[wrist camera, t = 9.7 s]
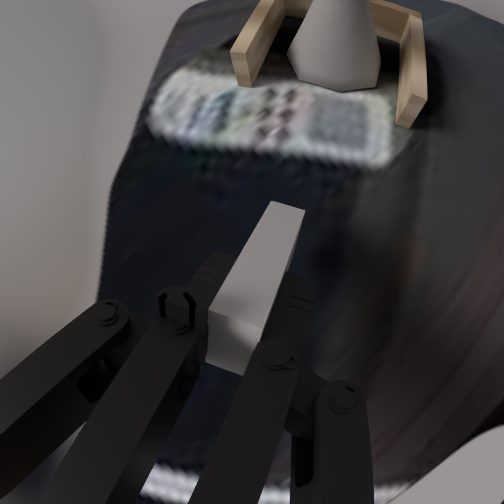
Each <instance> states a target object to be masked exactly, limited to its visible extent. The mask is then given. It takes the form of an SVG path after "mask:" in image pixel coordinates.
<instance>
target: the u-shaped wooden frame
mask: <svg viewBox="0 0 504 504" xmlns="http://www.w3.org/2000/svg"><path fill="white" fill-rule="evenodd" d="M312 2H313V0H261V1H260V2H259V4H258V5H257V7H256V8H255V10H254V12H253V13H252V15H251V16H250V18H249V20H248V21H247V23H246V25H245V26H244V28H243V30H242V31H241V33H240V35H239V36H238V38H237V40H236V42H235V43H234V45H233V47H232V49H231V50H230V55H231V58H232V62H233V66H234V70H235V74H236V78H237V82H238V86H245V87H252V86H253V84H254V82H255V80H256V77H257V75H258V73H259V71H260V68H261V66H262V64H263V62H264V60H265V57H266V55H267V53H268V51H269V49H270V47H271V44H272V42H273V40H274V38H275V36H276V34H277V32H278V30H279V28H280V26H281V24H282V22H283V19H284V17H285V16H292V17H299V18H305V16H306V14H307V12H308V10H309V8H310V6H311V4H312ZM369 5H370V9H371V14H372V19H373V24H374V29H375V34H376V35H377V36H380V37H383V38H387V39H390V40H393V41H395V42H398V43H400V63H399V86H398V101H397V113H396V125H399V126H402V127H405V128H407V129H409V128H410V127H411V125H412V123H413V122H414V120H415V119H416V117H417V116H418V114H419V112H420V111H421V109H422V108H423V106H424V104H425V103H426V101H427V74H426V57H425V45H424V35H423V27H422V19H421V13H418V12H416V11H413V10H410V9H407V8H405V7H402V6H399V5H396V4H393V3H390V2H387V1H383V0H369Z"/></svg>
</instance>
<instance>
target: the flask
mask: <svg viewBox="0 0 504 504" xmlns="http://www.w3.org/2000/svg"><path fill="white" fill-rule="evenodd" d="M286 55H287V57H288V59H289V61H290V63H291V65H292V67H293V69H294V71H295V73H296V75H297V77H298V79H299V80H302V81H306V82H309V83H313V84H316V85H319V86H323V87H326V88H329V89H332V90H335V91H338V92H341V91H348V90H355V89H363V88H371V87H376V83H377V79H378V75H379V71H380V67H381V58H380V52H379V47H378V43H377V38H376V34H375V29H374V24H373V19H372V14H371V9H370V5H369V0H313V2H312V4H311V6H310V8H309V10H308V12H307V14H306V16H305V18H304V21H303V23H302V24H301V26H300V28H299V30H298V32H297V34H296V36H295V38H294V39H293V41H292V43H291V45H290V47H289V49H288V51H287V53H286Z"/></svg>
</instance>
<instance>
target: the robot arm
mask: <svg viewBox="0 0 504 504" xmlns="http://www.w3.org/2000/svg"><path fill="white" fill-rule="evenodd" d="M304 213H305V210H301V209H298V208H295V207H291V206H288V205H284V204H281V203H277V202H274V201H271V202H270V204H269V206H268V207H267V209H266V211H265V212H264V214H263V216H262V218H261V219H260V221H259V223H258V224H257V226H256V228H255V230H254V231H253V233H252V235H251V236H250V238H249V240H248V242H247V243H246V245H245V247H244V248H243V250H242V252H241V254H240V255H239V257H235V256H232V255H229V254H226V253H223V252H220V251H217V252H216V253H214V254H212V255H210V256H209V257H207V258H206V260H205V261H204V263H203V264H202V265H201V267H200V269H199V270H198V271H197V272H196V274H195V276H194V277H193V278H192V280H191V281H190V282H189V284H188V285H187V287H186V288H184V287H179V286H176V287H168V288H165V289H163V290H160V291H159V292H158V293H157V294H156V295H155V296H154V299H155V307H156V314H155V315H145V314H136V313H128V309H127V308H126V306H125V305H124V304H123V303H122V302H120V301H118V300H113V299H106V300H101V301H99V302H97V303H95V304H93V305H92V306H91V307H89V308H88V309H87V310H86V311H84V312H83V313H82V314H80V315H79V316H78V317H76V318H75V319H74V320H73V321H71V322H70V323H69V324H67V325H66V326H65V327H64V328H62V329H61V330H60V331H59V332H58V333H56V334H55V335H54V336H52V337H51V338H50V339H49V340H47V341H46V342H45V343H44V344H42V345H41V346H40V347H39V348H37V349H36V350H35V351H34V352H33V353H31V354H30V355H29V356H28V357H27V358H25V359H24V360H23V361H22V362H21V363H19V364H18V365H17V366H16V367H15V368H14V369H12V370H11V371H10V372H9V373H8V374H7V375H5V376H4V377H3V378H2V379H1V380H0V499H2V498H3V497H4V496H6V495H7V494H8V493H9V492H11V491H12V490H13V489H14V488H15V487H16V486H17V485H18V484H19V483H20V482H21V481H23V480H24V479H25V477H27V476H28V475H29V474H30V473H31V472H32V471H33V470H34V469H35V468H36V467H38V466H39V465H40V464H41V463H42V462H43V461H44V460H45V459H46V458H47V457H48V456H49V455H50V454H52V453H53V452H54V451H55V450H56V449H57V448H58V447H59V446H60V445H61V444H62V443H63V442H64V441H65V440H67V438H69V437H70V436H71V435H72V434H73V433H74V432H75V431H76V430H77V429H78V428H79V427H80V426H81V425H82V424H84V422H86V423H85V424H84V426H83V428H82V429H81V431H80V432H79V434H78V436H77V438H76V439H75V441H74V442H73V444H72V446H71V447H70V449H69V450H68V452H67V454H66V455H65V457H64V459H63V461H62V462H61V464H60V466H59V467H58V469H57V471H56V472H55V474H54V476H53V477H52V479H51V481H50V483H49V485H48V486H47V488H46V490H45V492H44V493H43V495H42V497H41V499H40V501H39V502H38V504H134V503H135V501H136V499H137V497H138V495H139V493H140V491H141V490H142V488H143V486H144V484H145V482H146V480H147V478H148V476H149V474H150V472H151V470H152V468H153V466H154V464H155V462H156V460H157V458H158V456H159V454H160V452H161V450H162V448H163V446H164V444H165V443H166V441H167V439H168V437H169V435H170V433H171V431H172V429H173V427H174V425H175V423H176V421H177V419H178V417H179V415H180V413H181V411H182V409H183V407H184V405H185V403H186V401H187V399H188V397H189V395H190V393H191V391H192V389H193V387H194V385H195V383H196V381H197V379H198V377H199V373H200V366H201V364H202V362H203V360H204V358H205V356H206V362H207V363H210V364H212V365H215V366H218V367H220V368H223V369H226V370H229V371H231V372H234V373H237V374H240V375H243V377H242V380H241V382H240V385H239V387H238V390H237V392H236V394H235V397H234V399H233V402H232V404H231V406H230V409H229V411H228V414H227V416H226V418H225V421H224V423H223V425H222V428H221V430H220V432H219V435H218V437H217V439H216V442H215V444H214V446H213V449H212V451H211V453H210V455H209V458H208V460H207V462H206V464H205V467H204V469H203V471H202V473H201V476H200V478H199V480H198V482H197V484H196V487H195V489H194V491H193V493H192V495H191V497H190V500H189V502H188V504H258V501H259V498H260V496H261V493H262V490H263V487H264V484H265V482H266V479H267V476H268V473H269V470H270V467H271V464H272V461H273V458H274V455H275V452H276V449H277V446H278V443H279V440H280V436H281V433H282V430H283V429H285V430H286V431H288V432H289V433H291V434H292V443H291V483H290V504H374V487H373V471H372V458H371V446H370V436H369V427H368V418H367V410H366V402H365V399H364V396H363V393H362V392H361V391H360V389H359V388H358V387H357V386H356V385H354V384H352V383H351V382H348V381H344V380H336V381H331V382H330V383H329V382H328V381H326V380H324V379H323V378H321V377H320V376H318V375H316V374H315V373H314V372H313V371H311V370H310V369H309V367H308V366H307V365H306V363H305V361H304V359H303V354H302V349H303V344H304V340H305V335H306V331H307V327H308V323H309V319H310V313H311V310H312V305H313V301H314V296H315V292H316V291H315V287H314V284H313V281H312V279H309V278H306V277H302V276H299V275H296V274H293V273H289V272H287V271H288V268H289V265H290V262H291V259H292V256H293V252H294V249H295V245H296V242H297V238H298V235H299V231H300V227H301V224H302V220H303V217H304Z"/></svg>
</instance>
